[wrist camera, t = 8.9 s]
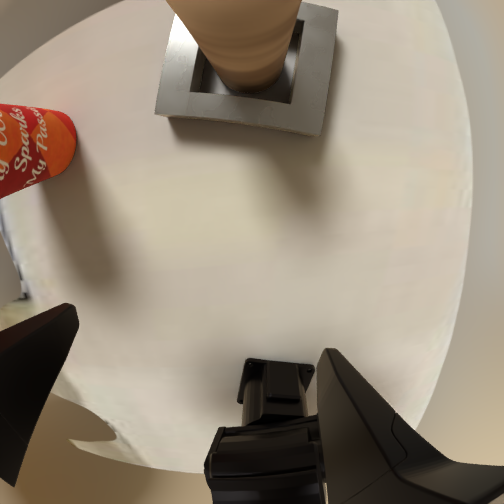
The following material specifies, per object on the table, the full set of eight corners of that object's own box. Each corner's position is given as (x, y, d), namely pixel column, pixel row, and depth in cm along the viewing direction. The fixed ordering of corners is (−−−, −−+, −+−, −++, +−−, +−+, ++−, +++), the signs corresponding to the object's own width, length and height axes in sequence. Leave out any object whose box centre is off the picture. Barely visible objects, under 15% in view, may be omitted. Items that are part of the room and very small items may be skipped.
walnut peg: (277, 97, 17) (301, 28, 6) (212, 89, 17) (142, 21, 5) (286, 40, 15) (314, -67, 4) (223, 33, 15) (178, -73, 4)
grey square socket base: (313, 136, 18) (321, 135, 15) (167, 117, 17) (153, 113, 15) (330, 24, 14) (339, 9, 12) (190, 7, 14) (181, -9, 12)
